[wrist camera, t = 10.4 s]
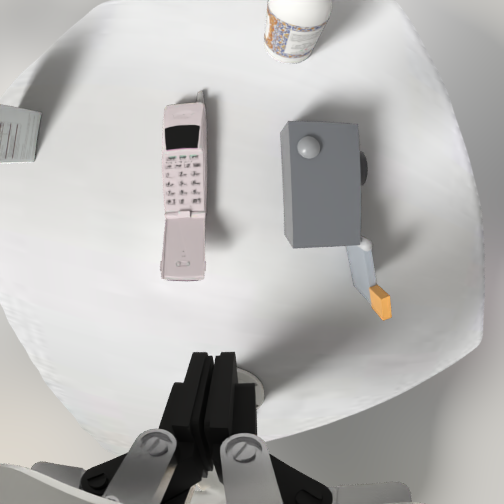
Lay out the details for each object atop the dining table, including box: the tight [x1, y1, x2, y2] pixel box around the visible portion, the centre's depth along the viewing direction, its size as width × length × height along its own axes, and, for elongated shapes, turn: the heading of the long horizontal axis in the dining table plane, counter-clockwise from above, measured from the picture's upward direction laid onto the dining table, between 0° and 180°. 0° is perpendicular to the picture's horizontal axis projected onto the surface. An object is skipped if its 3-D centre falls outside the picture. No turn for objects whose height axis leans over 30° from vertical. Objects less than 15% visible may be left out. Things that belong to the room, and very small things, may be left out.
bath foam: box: [264, 0, 332, 64], centre depth 22 cm, size 7×7×20 cm
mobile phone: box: [160, 91, 207, 281], centre depth 34 cm, size 6×6×25 cm
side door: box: [346, 235, 392, 321], centre depth 34 cm, size 1×9×11 cm, turn 17°
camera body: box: [280, 121, 367, 248], centre depth 33 cm, size 14×10×9 cm
